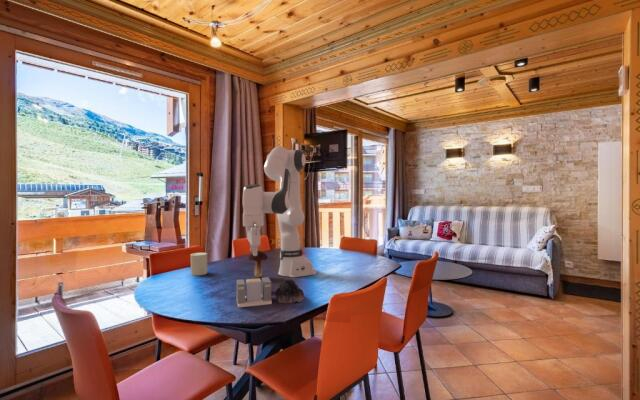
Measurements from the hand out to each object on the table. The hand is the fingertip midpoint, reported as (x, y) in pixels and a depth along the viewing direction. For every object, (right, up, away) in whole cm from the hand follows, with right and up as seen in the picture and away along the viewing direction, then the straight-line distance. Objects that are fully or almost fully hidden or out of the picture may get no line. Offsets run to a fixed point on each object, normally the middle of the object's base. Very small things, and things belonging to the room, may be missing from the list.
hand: (253, 253), depth 139 cm
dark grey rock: (+15, -21, +3) cm, 26 cm away
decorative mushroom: (-6, -20, +39) cm, 45 cm away
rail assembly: (0, -21, 0) cm, 21 cm away
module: (0, -20, 0) cm, 20 cm away
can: (-42, -20, +49) cm, 68 cm away
